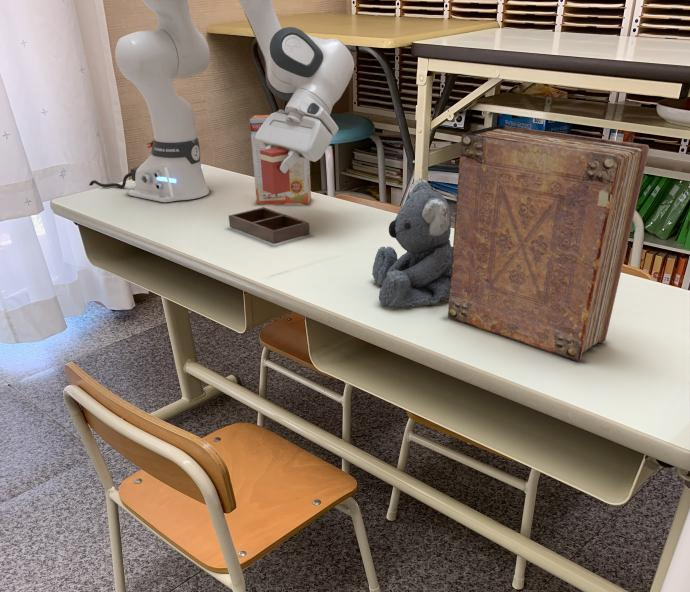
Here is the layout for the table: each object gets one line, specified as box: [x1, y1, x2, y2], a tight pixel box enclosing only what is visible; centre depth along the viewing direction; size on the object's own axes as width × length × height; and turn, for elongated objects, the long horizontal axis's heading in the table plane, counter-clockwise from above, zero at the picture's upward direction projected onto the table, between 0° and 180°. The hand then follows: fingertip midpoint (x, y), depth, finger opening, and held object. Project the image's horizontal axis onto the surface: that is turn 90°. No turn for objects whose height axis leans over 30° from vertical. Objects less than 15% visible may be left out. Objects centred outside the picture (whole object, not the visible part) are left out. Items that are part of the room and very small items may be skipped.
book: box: [447, 124, 650, 363], centre depth 109 cm, size 25×9×30 cm, turn 47°
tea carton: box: [260, 147, 290, 194], centre depth 152 cm, size 4×4×8 cm
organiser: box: [228, 206, 310, 245], centre depth 162 cm, size 18×10×3 cm, turn 42°
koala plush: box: [371, 177, 453, 309], centre depth 126 cm, size 17×18×20 cm
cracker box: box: [249, 114, 312, 205], centre depth 179 cm, size 14×6×21 cm, turn 84°
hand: (272, 168), depth 152 cm, fingers closed on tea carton, 4 cm apart
